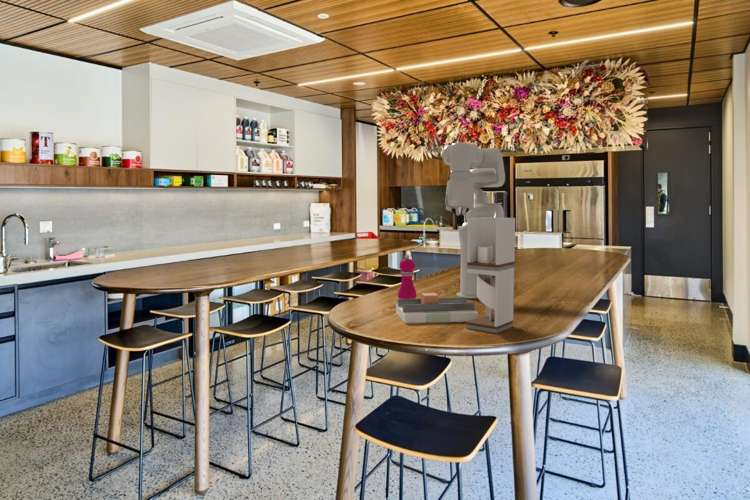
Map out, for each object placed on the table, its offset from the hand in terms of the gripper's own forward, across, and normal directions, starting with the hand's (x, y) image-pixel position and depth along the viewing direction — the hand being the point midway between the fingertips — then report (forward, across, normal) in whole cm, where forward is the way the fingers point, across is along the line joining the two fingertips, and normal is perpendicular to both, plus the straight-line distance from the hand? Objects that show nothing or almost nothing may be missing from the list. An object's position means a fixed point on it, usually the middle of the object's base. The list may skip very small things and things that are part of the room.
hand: (459, 225), depth 199 cm
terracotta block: (+28, +15, +14) cm, 35 cm away
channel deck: (+31, +13, +14) cm, 36 cm away
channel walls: (+28, +13, +14) cm, 34 cm away
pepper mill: (+31, +19, -5) cm, 37 cm away
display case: (+31, -1, +32) cm, 45 cm away
